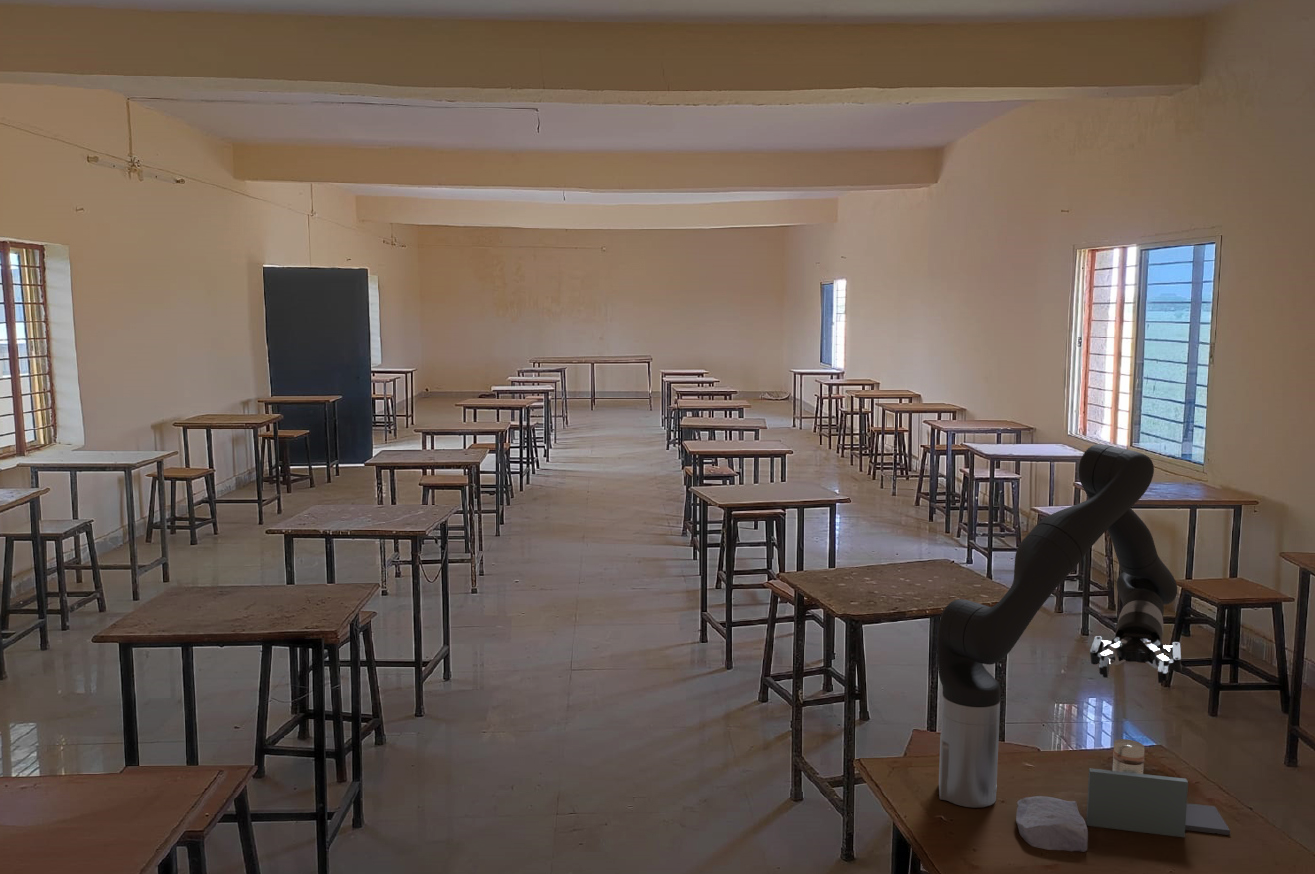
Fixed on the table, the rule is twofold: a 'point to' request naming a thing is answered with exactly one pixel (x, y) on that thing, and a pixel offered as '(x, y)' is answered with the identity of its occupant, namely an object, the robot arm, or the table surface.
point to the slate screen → (1137, 802)
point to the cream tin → (1128, 756)
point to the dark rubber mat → (1205, 819)
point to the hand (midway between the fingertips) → (1132, 675)
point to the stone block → (1051, 824)
